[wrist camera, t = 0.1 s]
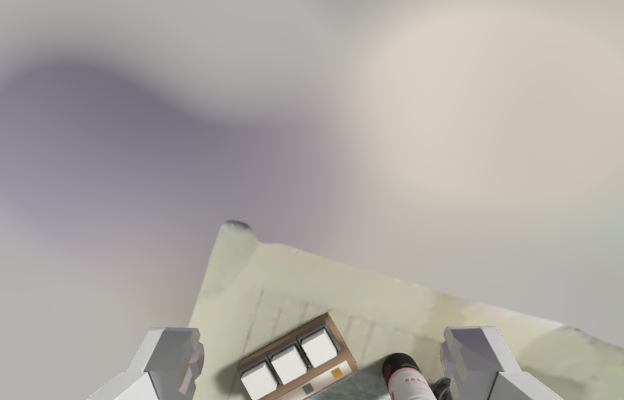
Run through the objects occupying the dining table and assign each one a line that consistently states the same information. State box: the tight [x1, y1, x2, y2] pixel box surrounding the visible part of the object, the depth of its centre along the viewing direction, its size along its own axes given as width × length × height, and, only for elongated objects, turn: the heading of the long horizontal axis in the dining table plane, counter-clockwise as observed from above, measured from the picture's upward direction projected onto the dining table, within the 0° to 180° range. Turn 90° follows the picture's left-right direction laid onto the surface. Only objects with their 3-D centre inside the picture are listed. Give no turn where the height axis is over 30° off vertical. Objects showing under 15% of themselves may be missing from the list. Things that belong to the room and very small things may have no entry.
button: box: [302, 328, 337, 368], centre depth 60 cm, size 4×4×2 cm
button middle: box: [271, 344, 307, 385], centre depth 60 cm, size 4×4×2 cm
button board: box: [238, 312, 358, 400], centre depth 63 cm, size 11×19×5 cm, turn 120°
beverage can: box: [382, 353, 437, 400], centre depth 58 cm, size 6×7×15 cm
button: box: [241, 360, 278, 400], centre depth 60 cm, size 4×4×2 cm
